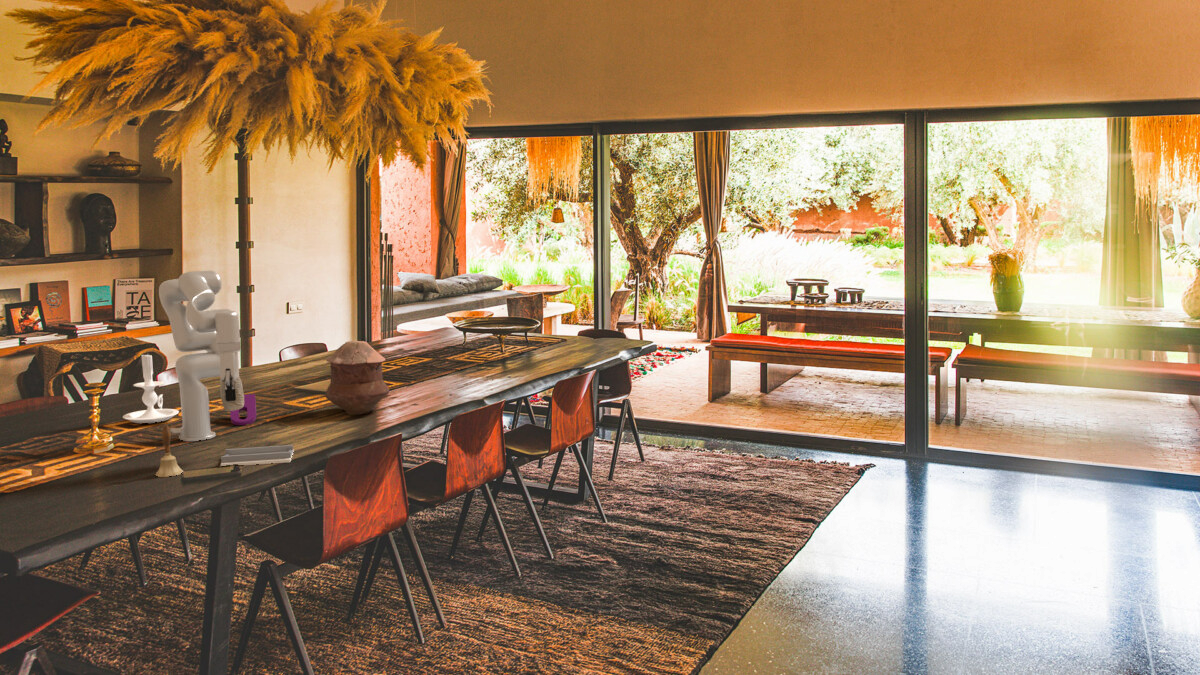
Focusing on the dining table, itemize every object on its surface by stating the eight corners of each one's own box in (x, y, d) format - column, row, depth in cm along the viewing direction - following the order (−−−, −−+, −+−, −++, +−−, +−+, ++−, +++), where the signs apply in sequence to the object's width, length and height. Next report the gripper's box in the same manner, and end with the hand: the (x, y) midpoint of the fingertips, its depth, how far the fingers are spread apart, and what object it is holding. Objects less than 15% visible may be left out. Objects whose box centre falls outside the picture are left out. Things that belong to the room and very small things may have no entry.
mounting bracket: (256, 437, 375) (256, 410, 389) (255, 420, 371) (255, 394, 385) (231, 439, 372) (232, 412, 386) (230, 422, 368) (230, 395, 382)
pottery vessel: (315, 417, 382) (311, 345, 378) (342, 405, 407) (339, 336, 403) (375, 419, 378) (371, 346, 374) (398, 406, 403) (395, 337, 399)
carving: (221, 409, 324) (219, 375, 322) (244, 407, 327) (242, 373, 325) (221, 412, 318) (219, 378, 317) (245, 410, 321) (242, 376, 320)
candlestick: (189, 413, 394) (184, 347, 390) (170, 426, 370) (165, 356, 366) (137, 415, 391) (132, 349, 388) (115, 428, 367) (109, 358, 363)
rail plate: (220, 467, 309) (220, 458, 309) (227, 456, 323) (226, 448, 323) (290, 462, 314) (289, 453, 314) (293, 451, 328) (293, 443, 328)
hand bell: (149, 476, 300) (145, 427, 298) (169, 469, 307) (166, 422, 305) (169, 478, 297) (165, 429, 295) (189, 471, 304) (185, 423, 302)
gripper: (221, 344, 327) (225, 395, 329) (212, 351, 310) (216, 404, 313) (244, 343, 329) (247, 394, 331) (236, 350, 312) (240, 402, 314)
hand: (232, 398), depth 322 cm, fingers closed on carving, 6 cm apart
